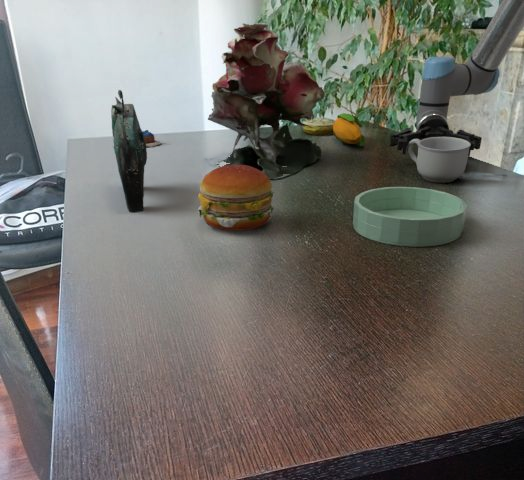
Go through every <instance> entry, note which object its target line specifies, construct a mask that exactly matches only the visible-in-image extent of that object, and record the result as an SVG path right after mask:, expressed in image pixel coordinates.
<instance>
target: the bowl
mask: <svg viewBox="0 0 524 480" xmlns="http://www.w3.org/2000/svg"><path fill="white" fill-rule="evenodd" d="M467 211H468V206H467V202H466V201H464V199H462V198H460V197H459V196H456V195H454V194H452V193H449V192H445V191H442V190H437V189H434V188H433V189H432V188H426V187H425V188H424V187H416V186H415V187H414V186H386V187H377V188H373V189H372V188H371V189H368V190H366V191H362V192H360V193H359V194H358V195H356V196H355V198H354V201H353V213H352V214H353V216H352V227H353V229H354V232H356V233H357V234H358V235H360V236H361V237H364V238H366V239H368V240H371V241H374V242H378V243H381V244H385V245H392V246H400V247H414V248H417V247H418V248H419V247H420V248H421V247H434V246H440V245H441V246H442V245H445V244H449V243H452V242H453V241H456V240H458V239H459V238H460V237H461V236H462V234H463V231H464V227H465V221H466V217H467Z"/></svg>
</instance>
